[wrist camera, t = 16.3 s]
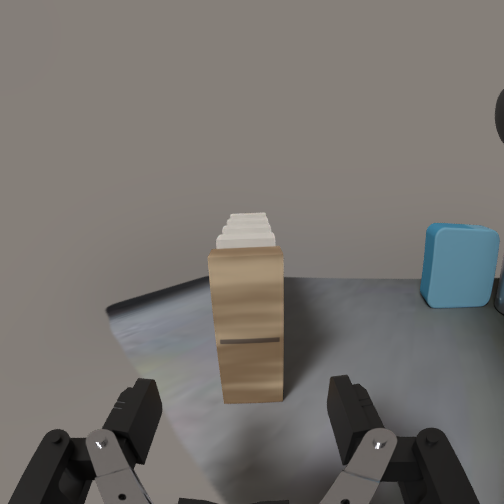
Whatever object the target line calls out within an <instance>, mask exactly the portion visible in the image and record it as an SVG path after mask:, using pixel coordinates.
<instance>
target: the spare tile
mask: <svg viewBox="0 0 504 504" xmlns="http://www.w3.org/2000/svg"><path fill="white" fill-rule="evenodd" d="M208 267H209V278H210V289H211V299H212V309H213V318H214V327H215V336H216V345H217V353H218V361H219V369H220V377H221V384H222V391H223V399H224V404H235V403H264V402H280V401H283V357H284V278H283V253H282V251H281V248H280V247H279V246H269V247H246V248H224V249H212V250H211V252H210V254H209V256H208Z"/></svg>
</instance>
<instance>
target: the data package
mask: <svg viewBox="0 0 504 504" xmlns="http://www.w3.org/2000/svg"><path fill="white" fill-rule="evenodd" d="M499 242H500V240H499V235H498V233H497V232H496V231H494V230H492V229H489V228H486V227H484V226H481V225H465V224H448V223H433V224H431V225H430V226H429V227H428V229H427V231H426V243H425V253H424V263H423V272H422V279H421V287H420V292H421V294H422V296H423V297H424V299H425V300H426V302H427V303H428V304H429V306H430V307H432V308H463V307H482V306H484V305H486V304H487V303H488V301H489V299H490V296H491V291H492V287H493V281H494V276H495V270H496V264H497V257H498V250H499Z"/></svg>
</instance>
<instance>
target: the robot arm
mask: <svg viewBox="0 0 504 504" xmlns="http://www.w3.org/2000/svg"><path fill="white" fill-rule="evenodd" d="M495 123H496V128H497V132H498V134H499V137H500V139H501V141H502V142H503V143H504V89H503V90H502V92H501V93H500V95H499V97H498V100H497V103H496V109H495ZM494 304H495V307H496V308H497V310H498V311H500V312H501V313H502V314H504V255H503V262H502V269H501V274H500V279H499V284H498V289H497V293H496V298H495V303H494ZM327 411H328V415H329V418H330V422H331V425H332V429H333V432H334V436H335V439H336V443H337V446H338V450H339V453H340V457H341V460H342V464H343V465H347V464H348V465H347V467H346V468H345V470H342V472H341V473H340V474H339V476H338V477H337V479H336V480H335V482H334V483H333V485H332V486H331V488H330V489H329V491H328V492H327V494H326V495H325V496H324V498H323V499H322V501H321V502H320V503H319V504H369V502H370V500H371V499H372V497H373V495H374V493H375V491H376V489H377V487H378V485H379V483H380V482H396V481H398V484H399V487H400V490H401V493H402V496H403V500H404V503H405V504H480V503H479V501H478V499H477V497H476V495H475V492H474V490H473V488H472V486H471V484H470V482H469V480H468V478H467V476H466V473H465V471H464V469H463V467H462V465H461V463H460V461H459V460H458V458H457V456H456V454H455V452H454V450H453V448H452V446H451V444H450V442H449V440H448V439H447V437H446V435H445V434H444V433H443V432H442V431H441V430H439V429H436V428H426V429H424V430H422V431H420V432H419V433H418V435H417V437H398V436H396V435H395V434H394V433H393V432H392V431H390V430H388V429H385V428H384V426H383V424H382V422H381V419H380V417H379V415H378V413H377V411H376V409H375V407H374V406H373V403H372V401H371V399H370V396H369V394H368V392H367V390H366V389H365V388H363V387H362V386H361V385H360V384H354V385H352V383H351V381H350V379H349V377H348V375H341V376H333V377H331V378H330V384H329V391H328V398H327ZM161 414H162V402H161V399H160V395H159V392H158V389H157V385H156V382H155V380H153V379H142V378H138V379H137V381H136V383H135V385H134V387H133V388H130V387H129V388H127V389H126V390H125V391H123V392H122V393H121V394H120V396H119V398H118V400H117V402H116V403H115V405H114V408H113V409H112V411H111V413H110V414H109V416H108V418H107V420H106V422H105V424H104V426H103V428H102V429H98V430H95V431H93V432H91V433H90V434H89V435H88V436H87V438H70V437H69V435H68V433H67V432H65V431H64V430H60V429H56V430H52V431H50V432H48V433H47V434H46V435H45V436H44V438H43V440H42V441H41V443H40V445H39V446H38V448H37V450H36V452H35V453H34V455H33V457H32V459H31V461H30V462H29V464H28V466H27V468H26V470H25V472H24V473H23V475H22V477H21V479H20V481H19V483H18V485H17V487H16V489H15V491H14V493H13V495H12V497H11V499H10V501H9V503H8V504H84V503H85V500H86V497H87V494H88V491H89V489H90V486H91V483H92V480H95V481H96V484H97V486H98V489H99V491H100V494H101V496H102V499H103V501H104V504H153V502H152V501H151V499H150V497H149V496H148V494H147V492H146V491H145V489H144V487H143V485H142V483H141V482H140V480H139V478H138V476H137V474H136V472H135V470H134V467H135V464H136V463H137V464H143V465H144V464H145V461H146V458H147V455H148V452H149V449H150V446H151V443H152V441H153V437H154V435H155V432H156V429H157V426H158V423H159V420H160V417H161ZM178 504H217V503H213V502H209V501H205V500H196V499H186V498H179V501H178ZM253 504H289V500H283V501H265V502H257V503H253Z"/></svg>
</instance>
